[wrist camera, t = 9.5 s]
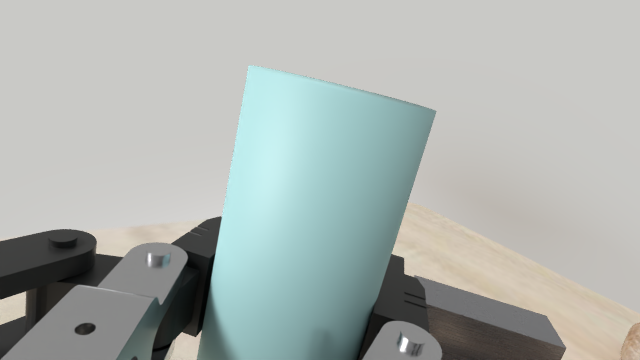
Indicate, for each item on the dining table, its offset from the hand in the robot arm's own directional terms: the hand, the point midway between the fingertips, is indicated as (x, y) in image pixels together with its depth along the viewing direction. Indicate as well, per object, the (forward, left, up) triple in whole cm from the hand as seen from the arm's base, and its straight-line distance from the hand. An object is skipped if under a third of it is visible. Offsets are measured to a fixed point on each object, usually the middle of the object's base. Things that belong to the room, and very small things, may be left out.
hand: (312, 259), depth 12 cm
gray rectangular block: (-14, +2, -11) cm, 18 cm away
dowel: (+2, +2, -8) cm, 9 cm away
